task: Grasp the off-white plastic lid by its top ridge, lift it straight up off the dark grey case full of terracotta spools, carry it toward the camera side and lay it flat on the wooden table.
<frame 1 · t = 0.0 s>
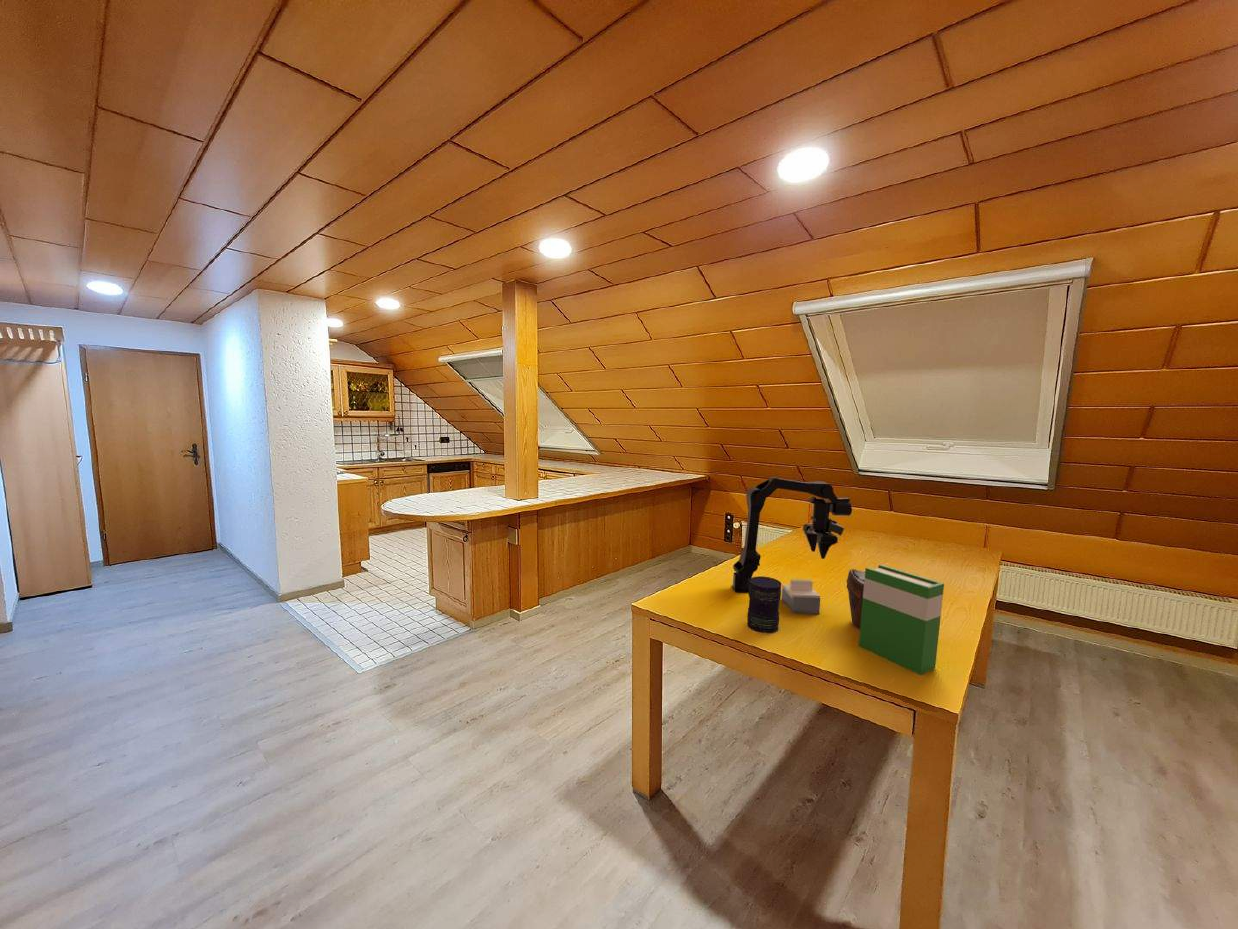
hand: (817, 555, 185), 15 cm above the table, fingers open, 9 cm apart
storage jar: (762, 627, 155), on the table
hardback book: (895, 657, 138), on the table
case: (799, 606, 172), on the table
lid: (800, 593, 171), point 5 cm above the table, touching case
case 2: (875, 628, 157), on the table
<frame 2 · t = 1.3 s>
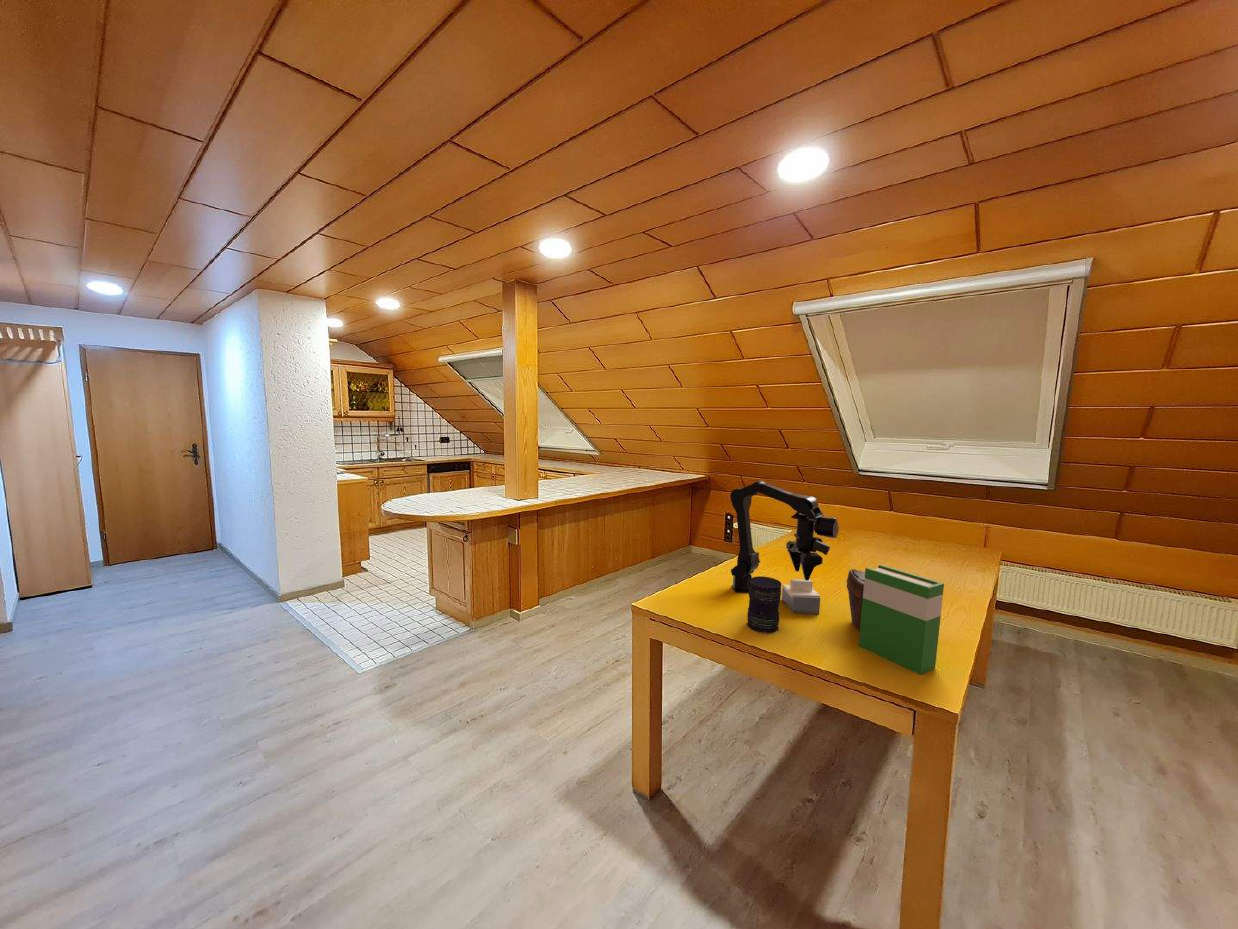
hand: (801, 575, 171), 11 cm above the table, fingers open, 9 cm apart
nothing on the table moved.
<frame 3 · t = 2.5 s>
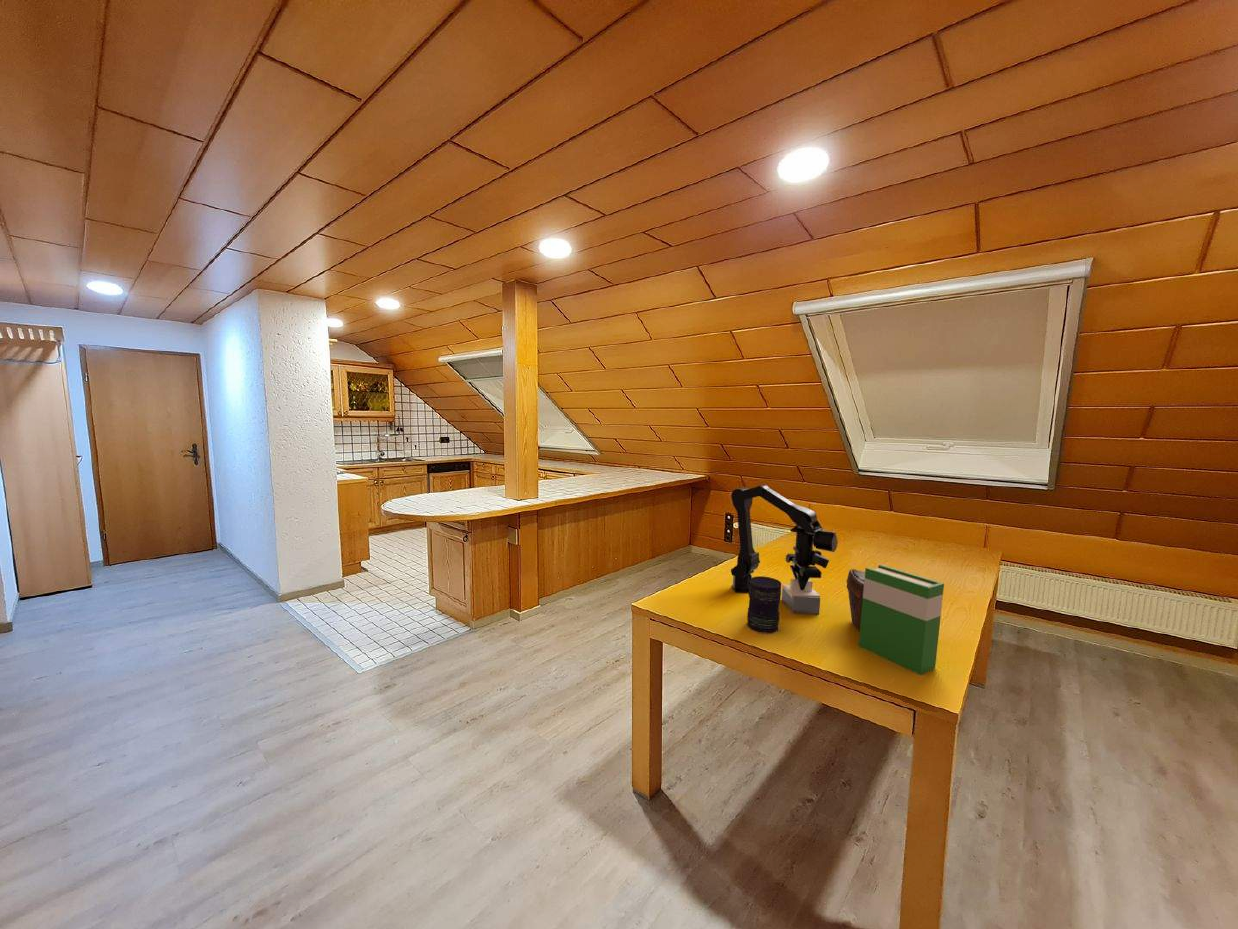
hand: (800, 588, 171), 7 cm above the table, fingers closed on lid
lid: (800, 593, 171), point 5 cm above the table, touching case, gripper
everything else where it was.
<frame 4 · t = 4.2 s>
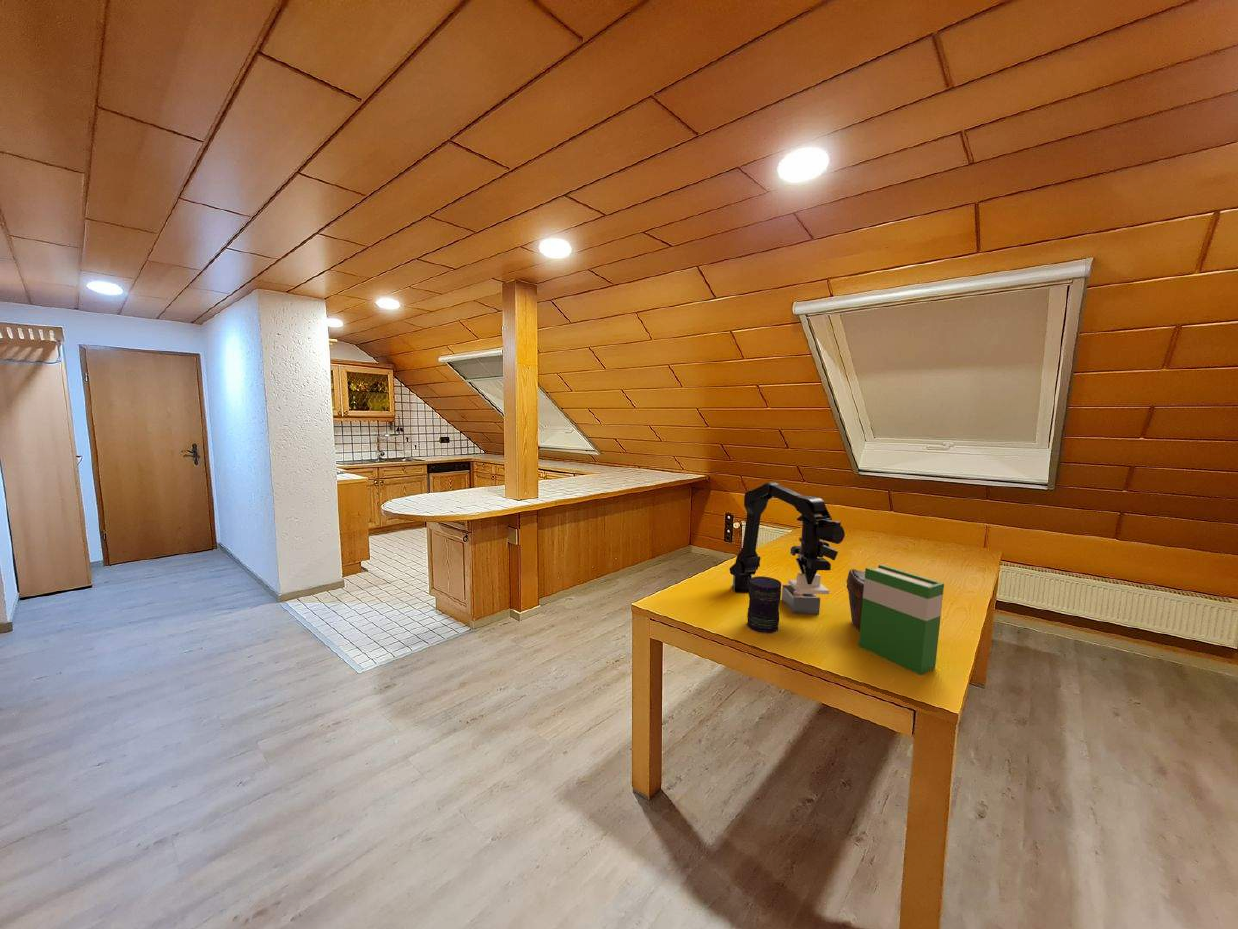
hand: (808, 583, 159), 13 cm above the table, fingers closed on lid
lid: (808, 588, 159), point 11 cm above the table, touching gripper
everything else where it was.
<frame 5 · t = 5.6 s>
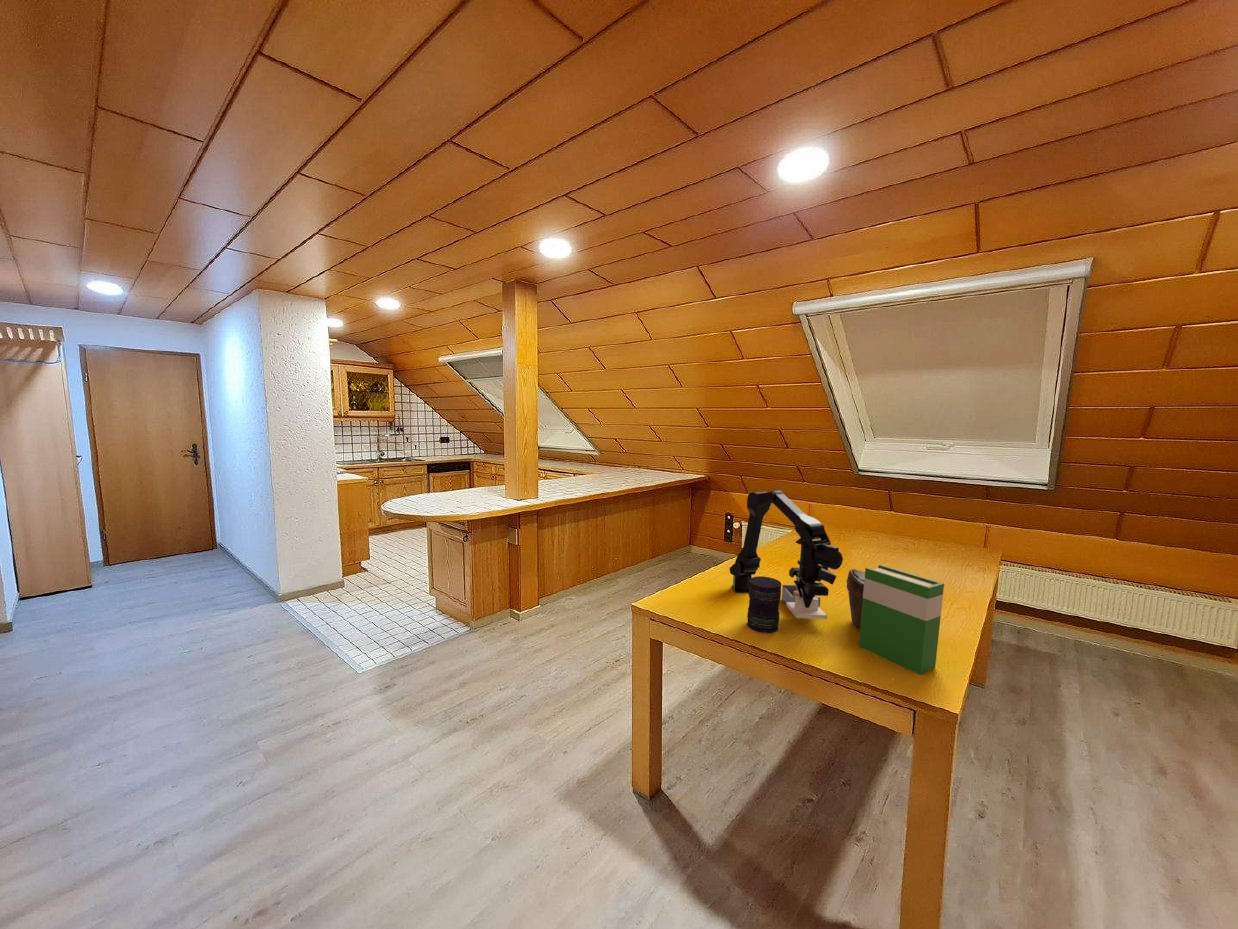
hand: (805, 606, 158), 6 cm above the table, fingers closed on lid
lid: (805, 612, 159), point 4 cm above the table, touching gripper
everything else where it was.
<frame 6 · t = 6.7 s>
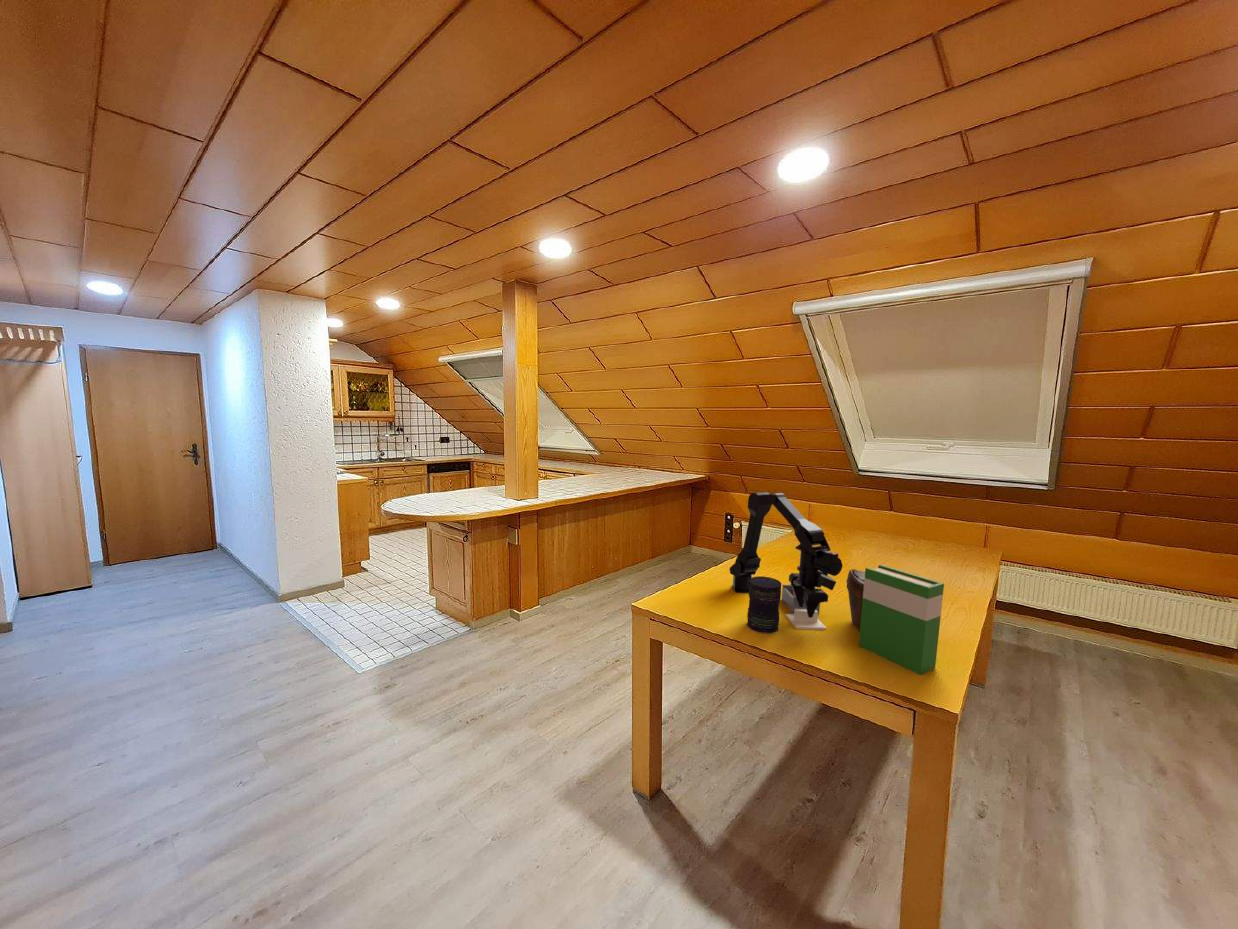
hand: (805, 612, 159), 4 cm above the table, fingers open, 8 cm apart
lid: (805, 624, 159), on the table
everything else where it was.
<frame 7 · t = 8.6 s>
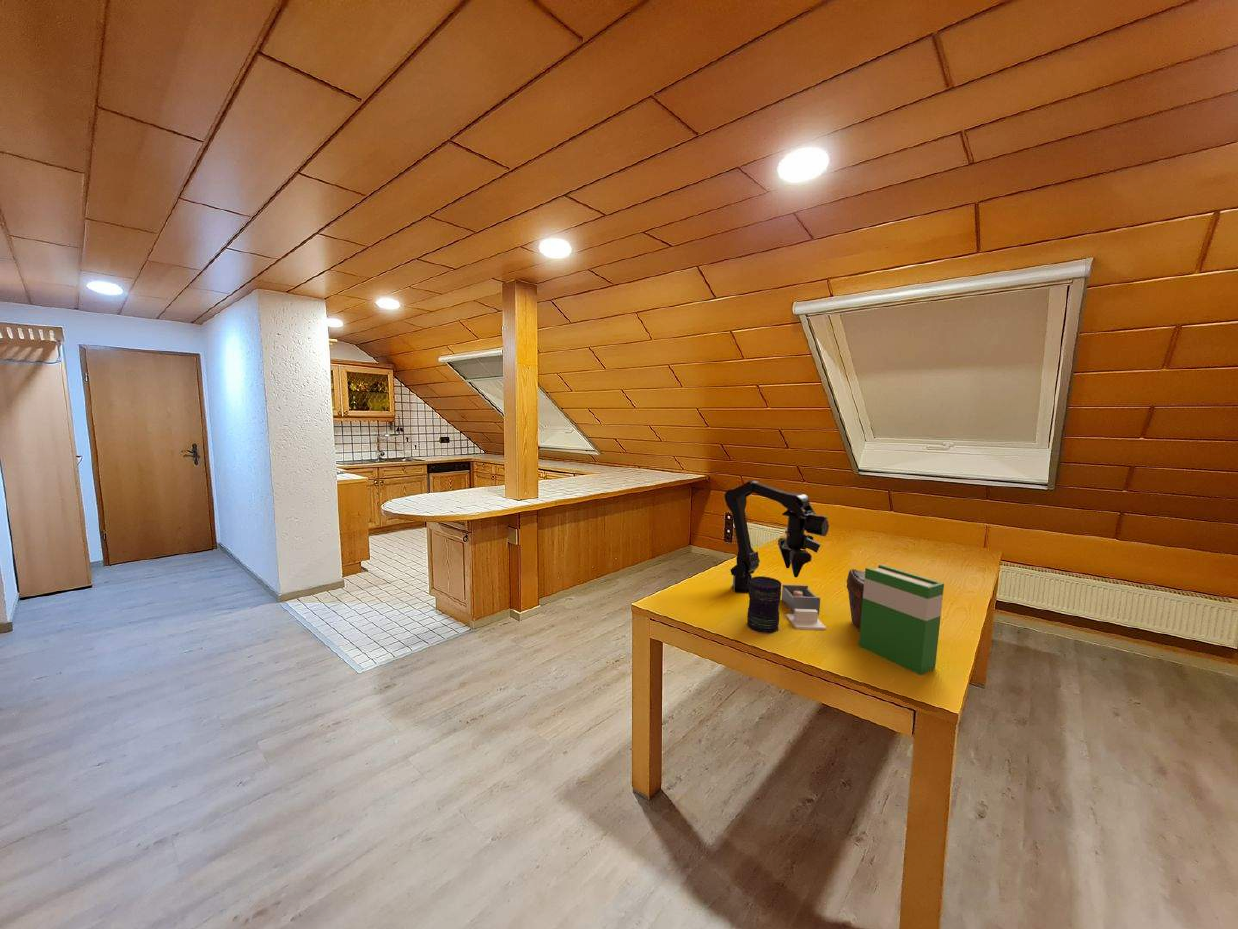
hand: (791, 572, 172), 12 cm above the table, fingers open, 9 cm apart
nothing on the table moved.
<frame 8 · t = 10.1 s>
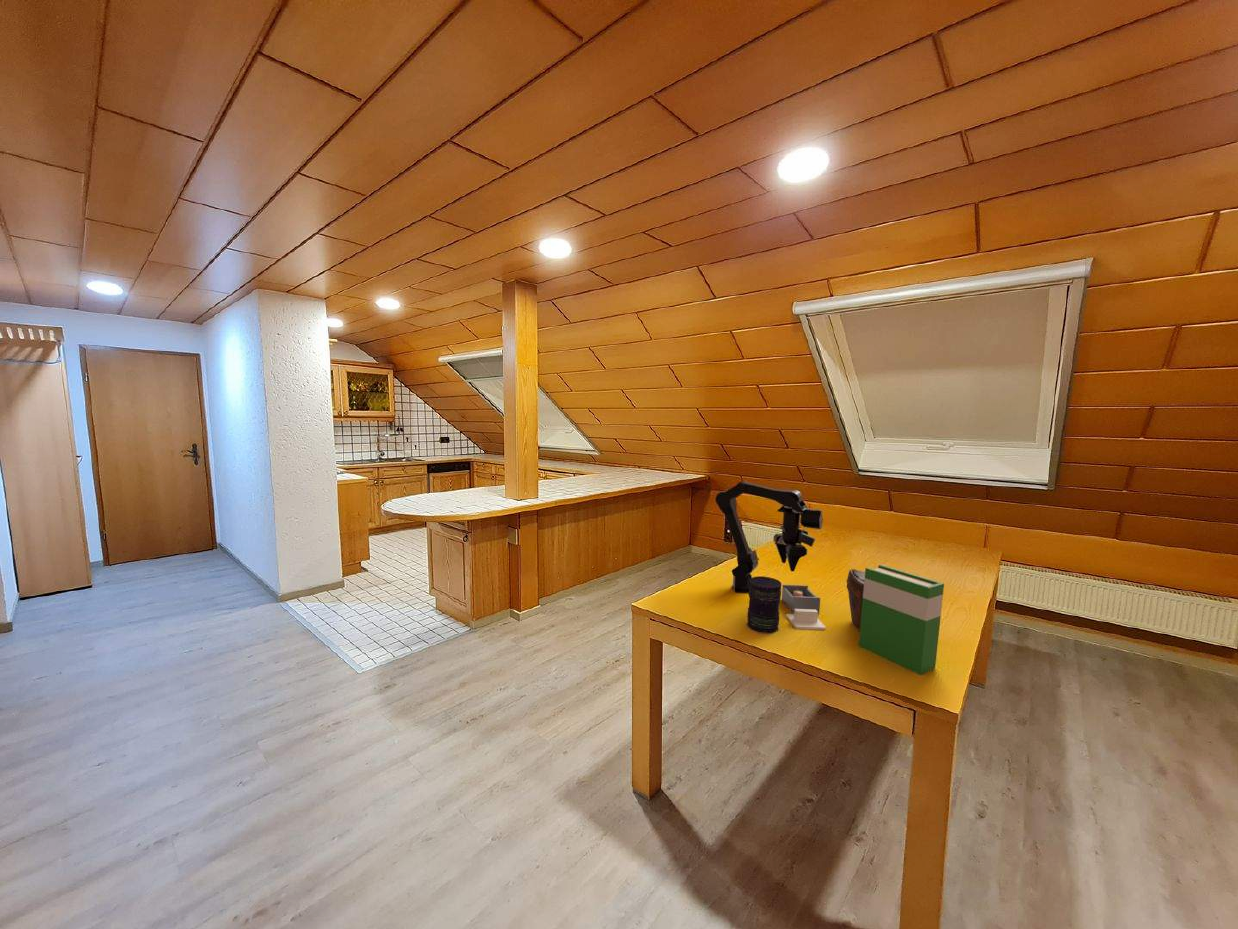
hand: (788, 567, 176), 13 cm above the table, fingers open, 9 cm apart
nothing on the table moved.
at the end: lid inside the target area (0.2 cm from its centre), on the table; lid tilted 0°; the gripper is holding nothing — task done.
